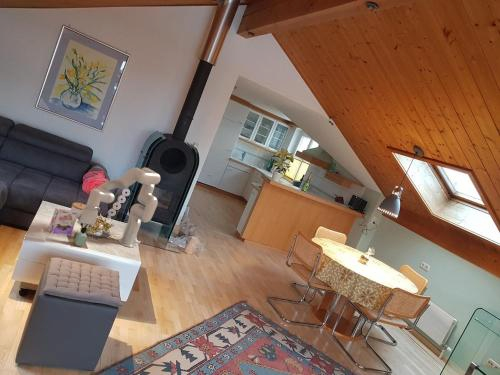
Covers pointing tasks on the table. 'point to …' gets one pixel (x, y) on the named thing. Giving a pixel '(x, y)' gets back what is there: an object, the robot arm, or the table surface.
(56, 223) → the candy box
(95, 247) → the table surface
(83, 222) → the robot arm
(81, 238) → the mint green cube
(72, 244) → the walnut board
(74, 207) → the lidded bowl
